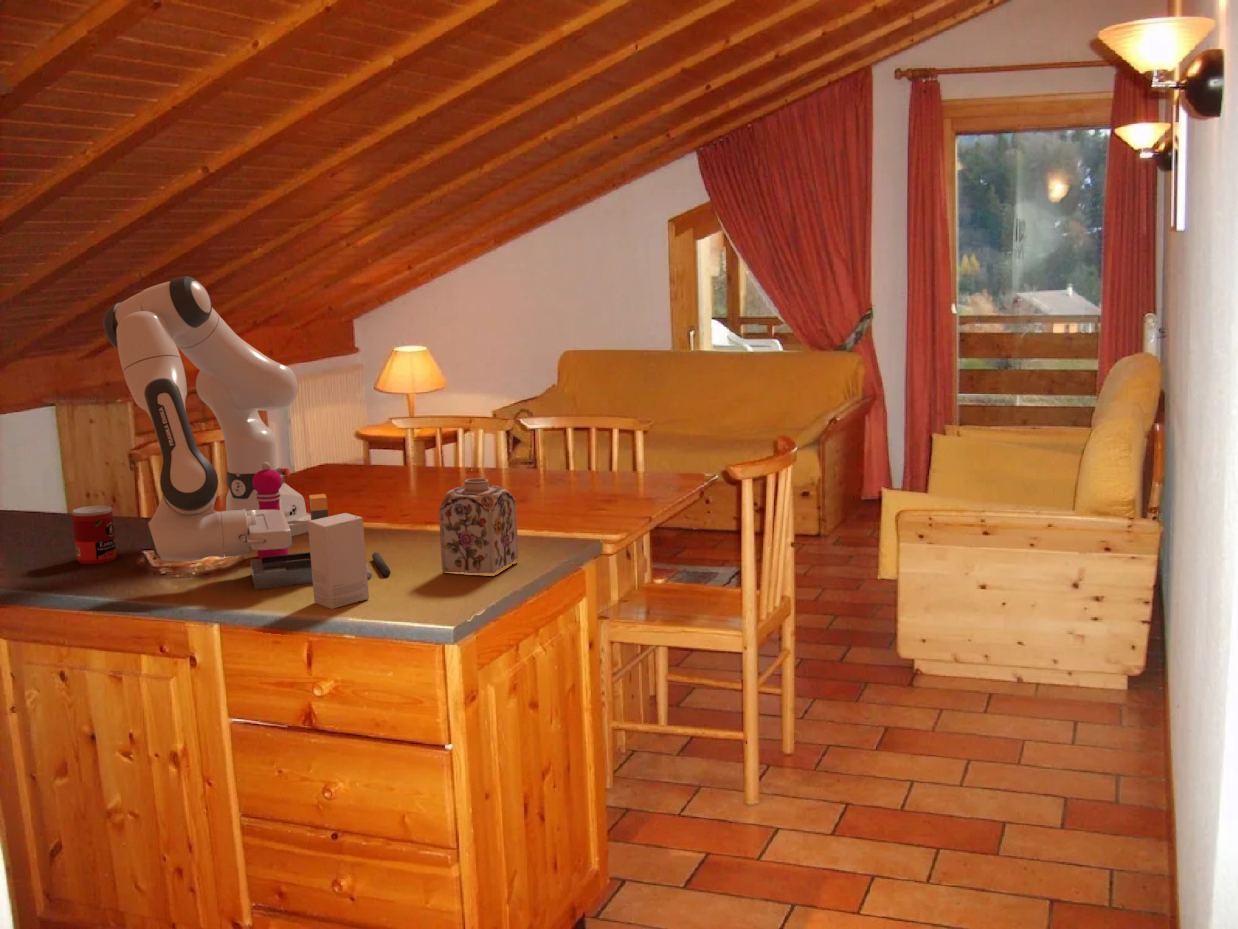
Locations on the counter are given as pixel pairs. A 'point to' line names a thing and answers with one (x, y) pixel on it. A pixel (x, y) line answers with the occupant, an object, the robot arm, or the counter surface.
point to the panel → (281, 570)
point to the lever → (318, 506)
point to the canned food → (94, 534)
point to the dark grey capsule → (379, 565)
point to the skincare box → (338, 560)
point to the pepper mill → (268, 498)
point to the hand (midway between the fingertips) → (312, 525)
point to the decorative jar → (478, 528)
